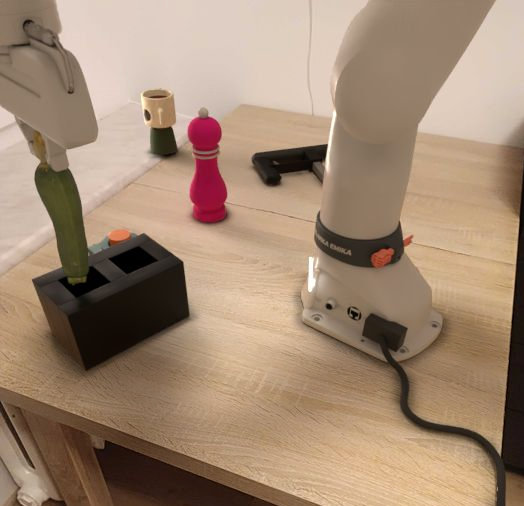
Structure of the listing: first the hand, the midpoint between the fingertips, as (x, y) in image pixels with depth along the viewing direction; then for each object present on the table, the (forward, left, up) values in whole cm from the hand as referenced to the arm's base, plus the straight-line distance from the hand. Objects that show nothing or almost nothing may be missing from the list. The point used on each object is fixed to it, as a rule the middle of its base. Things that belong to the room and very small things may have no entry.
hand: (50, 162), depth 55 cm
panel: (+14, -13, -26) cm, 32 cm away
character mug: (+47, -44, -26) cm, 69 cm away
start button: (+14, -13, -22) cm, 29 cm away
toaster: (0, -4, -26) cm, 26 cm away
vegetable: (0, 0, -16) cm, 16 cm away
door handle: (+18, -61, -26) cm, 68 cm away
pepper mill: (+17, -34, -26) cm, 46 cm away
